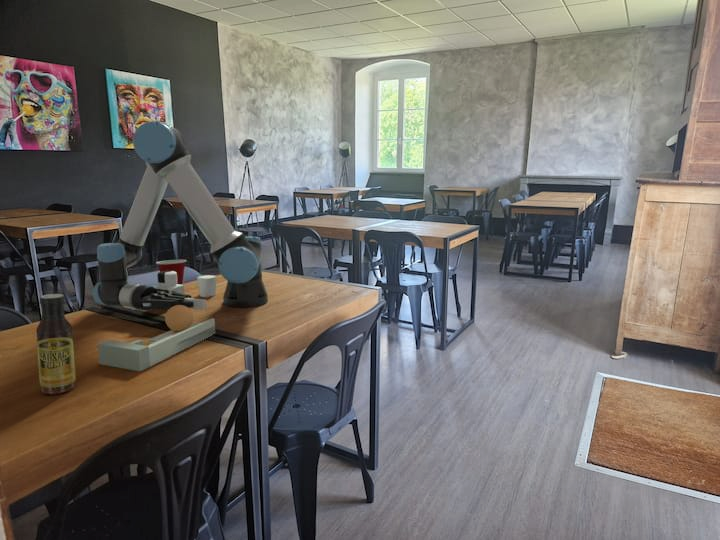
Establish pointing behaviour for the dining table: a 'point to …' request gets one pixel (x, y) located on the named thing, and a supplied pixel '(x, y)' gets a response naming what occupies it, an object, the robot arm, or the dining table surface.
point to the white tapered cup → (207, 285)
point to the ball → (179, 318)
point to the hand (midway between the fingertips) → (204, 304)
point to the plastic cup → (173, 268)
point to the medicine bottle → (168, 282)
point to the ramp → (152, 347)
